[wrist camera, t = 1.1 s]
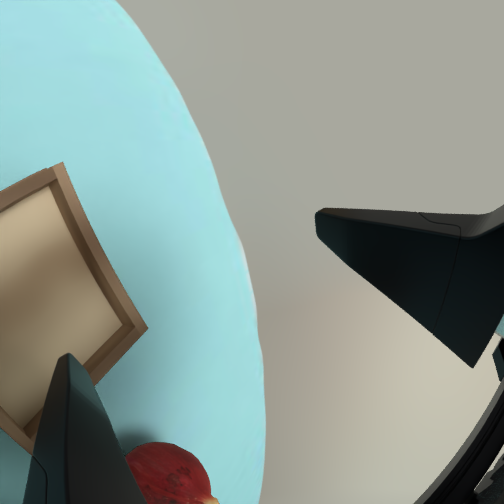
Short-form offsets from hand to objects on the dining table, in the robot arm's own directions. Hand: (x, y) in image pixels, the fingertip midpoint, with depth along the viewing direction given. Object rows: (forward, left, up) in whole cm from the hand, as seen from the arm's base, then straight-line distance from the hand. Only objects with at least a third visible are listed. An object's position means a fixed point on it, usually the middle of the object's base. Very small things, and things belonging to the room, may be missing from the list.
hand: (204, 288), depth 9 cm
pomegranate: (-13, +4, -12) cm, 18 cm away
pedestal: (+1, +3, -12) cm, 12 cm away
